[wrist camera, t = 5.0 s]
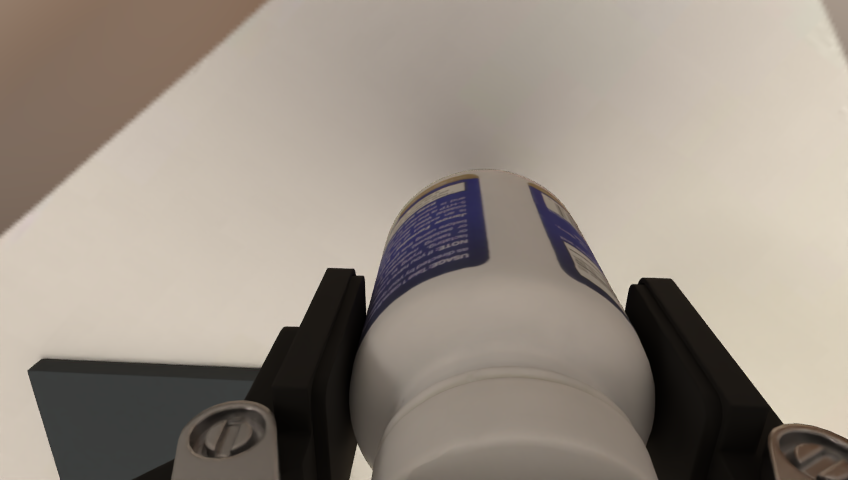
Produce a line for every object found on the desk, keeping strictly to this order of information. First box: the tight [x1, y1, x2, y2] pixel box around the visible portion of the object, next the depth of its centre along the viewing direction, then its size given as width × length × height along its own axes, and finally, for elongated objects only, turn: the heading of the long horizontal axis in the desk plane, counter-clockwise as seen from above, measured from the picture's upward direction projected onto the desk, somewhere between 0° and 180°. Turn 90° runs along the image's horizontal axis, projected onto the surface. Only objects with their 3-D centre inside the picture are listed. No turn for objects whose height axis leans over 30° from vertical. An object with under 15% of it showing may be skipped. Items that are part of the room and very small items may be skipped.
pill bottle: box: [349, 169, 658, 480], centre depth 11 cm, size 5×5×9 cm
